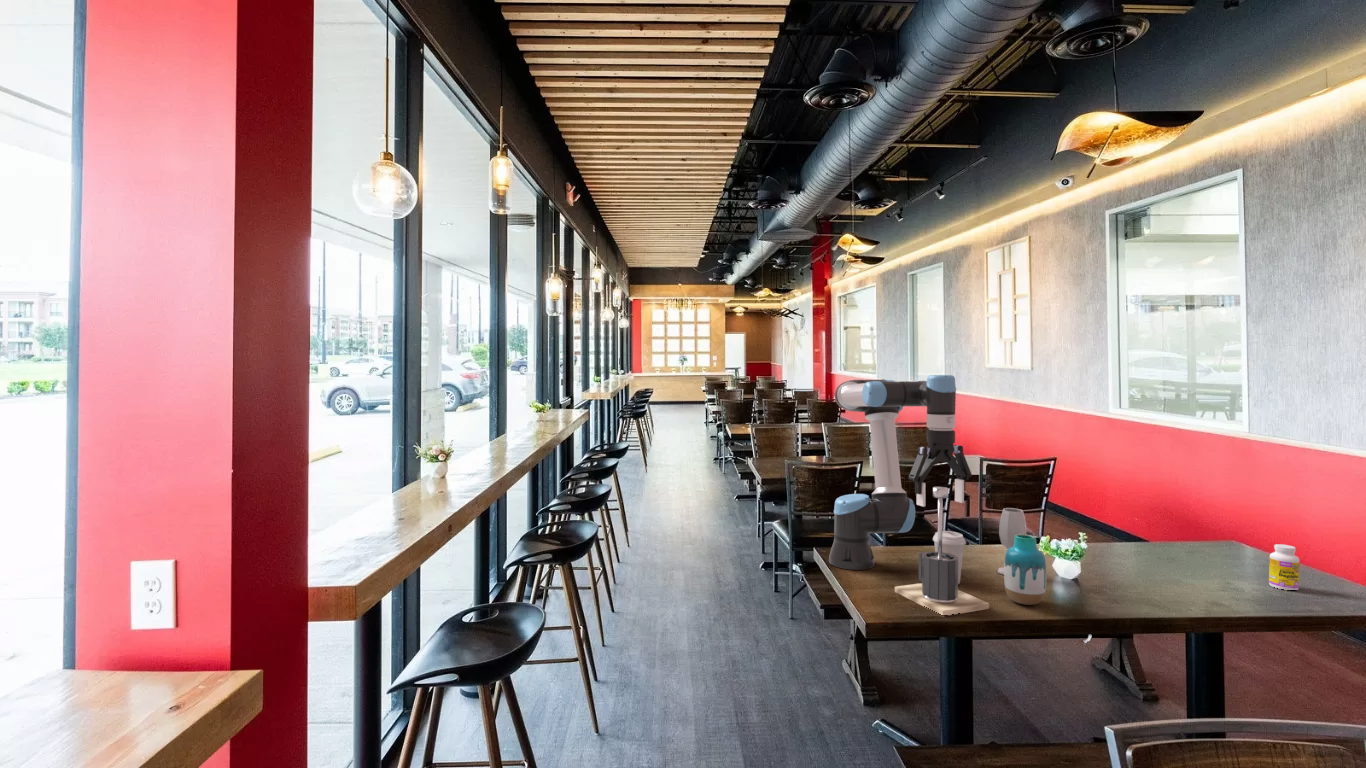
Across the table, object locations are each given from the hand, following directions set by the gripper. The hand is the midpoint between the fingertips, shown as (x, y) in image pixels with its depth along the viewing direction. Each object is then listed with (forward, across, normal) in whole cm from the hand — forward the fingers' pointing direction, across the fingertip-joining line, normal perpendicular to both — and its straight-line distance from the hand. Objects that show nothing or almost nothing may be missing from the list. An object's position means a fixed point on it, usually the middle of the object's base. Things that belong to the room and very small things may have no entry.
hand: (940, 503), depth 179 cm
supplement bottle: (+29, +108, -25) cm, 115 cm away
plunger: (+16, 0, 0) cm, 16 cm away
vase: (+29, +23, -8) cm, 38 cm away
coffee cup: (+29, +16, +14) cm, 36 cm away
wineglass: (+29, +41, +13) cm, 52 cm away
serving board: (+28, +2, +2) cm, 29 cm away
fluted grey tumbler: (+27, 0, +1) cm, 27 cm away
